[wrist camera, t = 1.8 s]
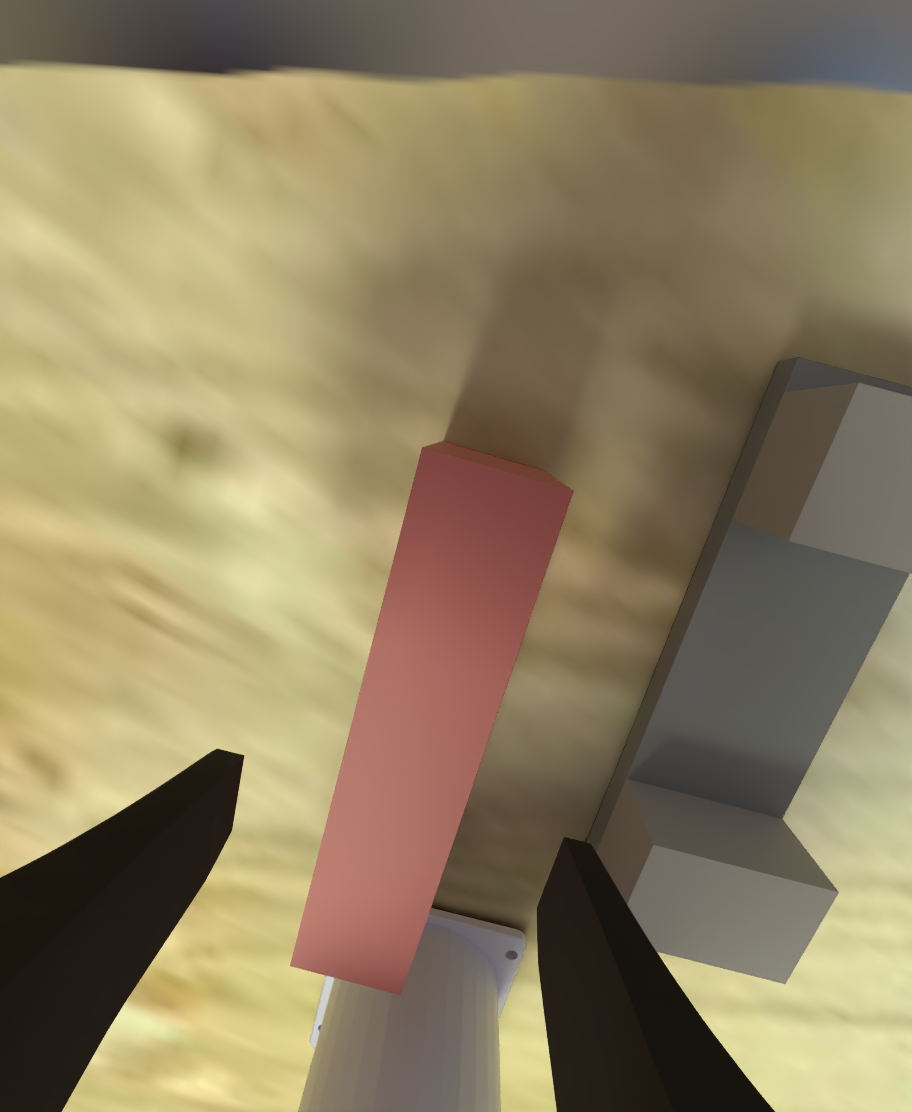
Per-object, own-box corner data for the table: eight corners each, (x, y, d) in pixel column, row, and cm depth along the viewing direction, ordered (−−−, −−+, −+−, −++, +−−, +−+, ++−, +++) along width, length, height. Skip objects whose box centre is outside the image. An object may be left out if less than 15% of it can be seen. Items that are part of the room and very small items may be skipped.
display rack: (718, 896, 20) (772, 1005, 17) (578, 860, 20) (601, 961, 17) (962, 411, 15) (1123, 405, 12) (778, 361, 15) (878, 338, 11)
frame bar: (423, 837, 21) (400, 995, 15) (344, 815, 21) (289, 965, 15) (542, 469, 17) (573, 491, 11) (443, 441, 17) (422, 447, 11)
